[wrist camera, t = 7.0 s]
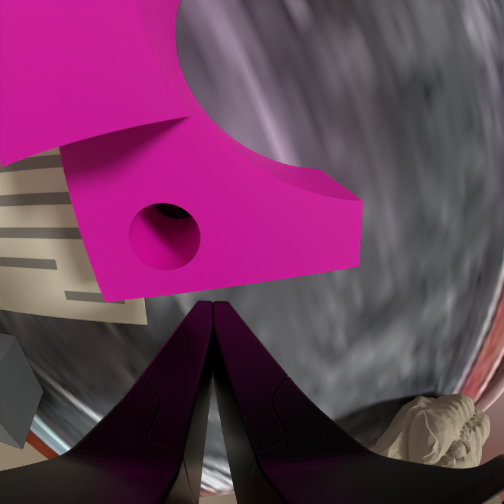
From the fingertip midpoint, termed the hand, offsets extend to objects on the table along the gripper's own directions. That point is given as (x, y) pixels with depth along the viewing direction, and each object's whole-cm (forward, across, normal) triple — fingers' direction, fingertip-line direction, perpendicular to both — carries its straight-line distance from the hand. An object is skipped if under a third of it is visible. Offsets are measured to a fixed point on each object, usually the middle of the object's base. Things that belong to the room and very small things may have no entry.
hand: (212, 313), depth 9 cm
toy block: (+1, +5, -7) cm, 9 cm away
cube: (+4, +14, +8) cm, 17 cm away
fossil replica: (+4, -16, +14) cm, 21 cm away
